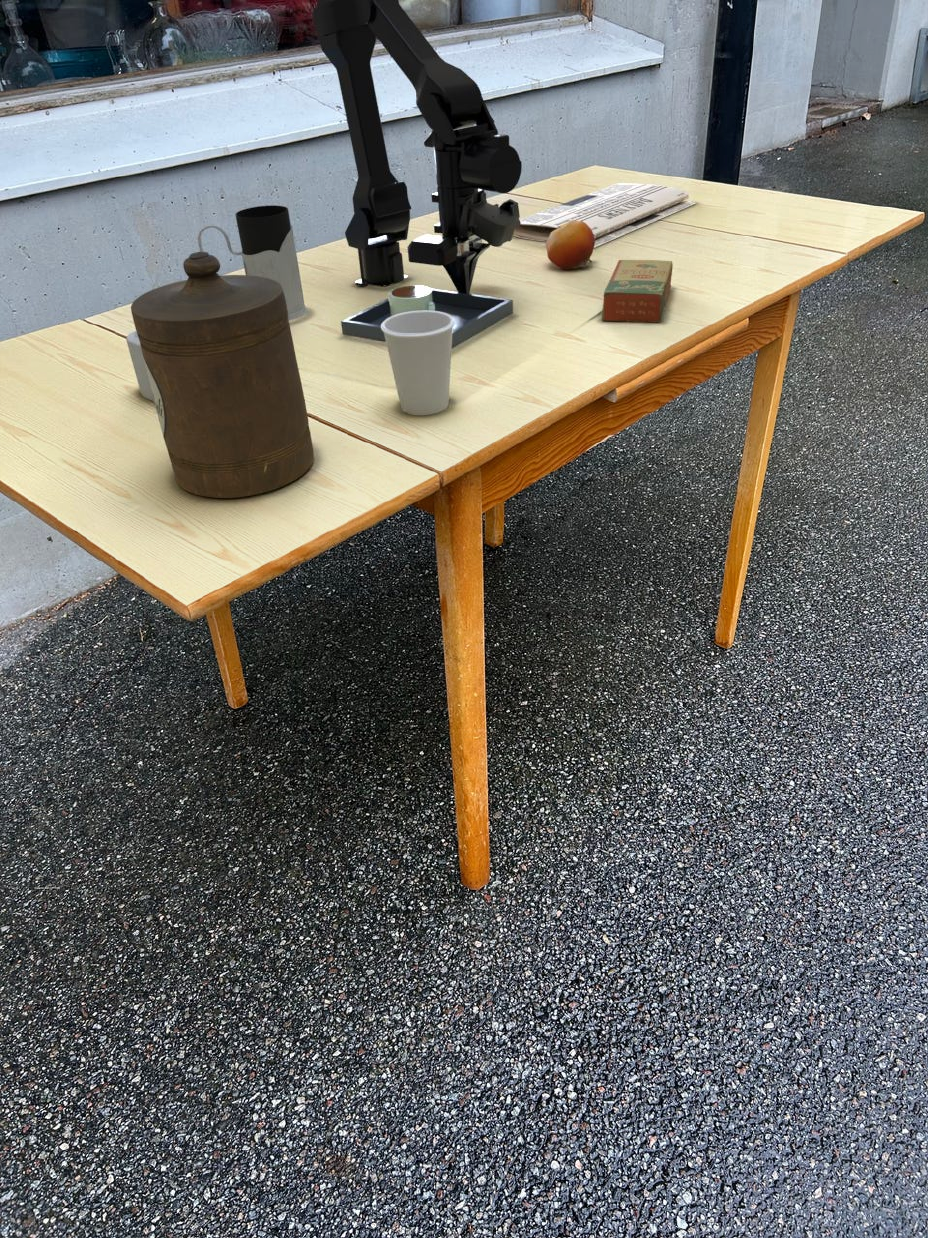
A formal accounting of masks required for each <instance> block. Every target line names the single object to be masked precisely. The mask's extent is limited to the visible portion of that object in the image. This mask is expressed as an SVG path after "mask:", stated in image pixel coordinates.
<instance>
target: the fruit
mask: <svg viewBox="0 0 928 1238" xmlns="http://www.w3.org/2000/svg"><path fill="white" fill-rule="evenodd" d="M594 245H595V238H594V234H593V232H592V230H591V229H590V227H589V226H588V225H587V224H586V223H584V222H583V221H570V222H567V223H566V224H563V225H562V226H560V227H558V229H556V230H554V231H552V232H551V234H550V236H549V238H548V240H547V242H546V244H545V249H546V254H547V259H548V260H549V261H550V262H551V263H552V264H553V265H554V266H555V267H557V268H559V269H562V270H566V271H567V270H573V269H577V268H586V269H587V264H588V262H590V263H593V261H592V260H591V256H593V253H594V249H595V248H594Z"/></svg>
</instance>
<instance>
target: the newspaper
mask: <svg viewBox="0 0 928 1238" xmlns="http://www.w3.org/2000/svg"><path fill="white" fill-rule="evenodd" d="M689 196H690V193H688V192H686V191H685V190H684V189H682V188H678V187H671V186H666V185H659V184H654V183H635V182H634V183H633V182H632V183H631V182H618V183H615V184H612V185H610V186H607V187H604V188H601V189H598V190H596V191H593V192H590V193H588V194H585V195H582V196H580V197H577V198H575V199H572V200H569V201H567V202H563V203H560V204H558V205H556V206H553V207H550V208H547V209H545V210H544V209H543V210H542V211H539V212H536V213H534V214H531V215H528V216H526V217H523V218H521V219H520V218H519V220H520V222H521V224H520V226H518V227H516V228H515V229H514V233H513V236H514V237H516V238H519V239H525V240H531V241H539V242H546V243H547V240H548V238H549V236H550V234H551V232H552V231H554V230H556V229H558V227H560V226H562V225H563V224H566V223H567V222H570V221H583V222H584V223H586V224H587V225H588V226H589V227H590V229H591V230H592V232H593V234H594V238H595V245H594V249H595V248H597V247H599V246H602V245H605V244H606V243H608V242H612V241H613V240H615V239H618V238H620V237H622V236H625V235H627V234H629V233H632V232H634V231H637V230H639V229H641V228H643V227H645V226H648V225H650V224H652V223H655V222H657V221H659V220H661V219H663V218H666V217H669V216H670V215H673V214H675V213H677V212H680V211H682V210H684V209H687V208H689V207H691V206H694V205H696V204H697V203H696V202H695V201H690V200H688V199H689Z"/></svg>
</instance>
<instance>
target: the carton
mask: <svg viewBox="0 0 928 1238" xmlns="http://www.w3.org/2000/svg"><path fill="white" fill-rule="evenodd" d="M673 265H674V264H673V261H672V260H661V259H660V260H657V259H618V261H617V263H616V266H615V268H614V270H613V272H612V274H611V276H610V279H609V280H608V283H607V285H606V287H605V289H604V291H603V302H602V313H601V319H602V321H606V322H607V321H608V322H610V321H612V322H628V323H629V322H630V323H632V322H633V323H661V322H662V321H663V318H664V315H665V314H664V313H665V310H666V307H667V301H668V299H669V294H670V290H671V288H672V276H673V267H674V266H673Z"/></svg>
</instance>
